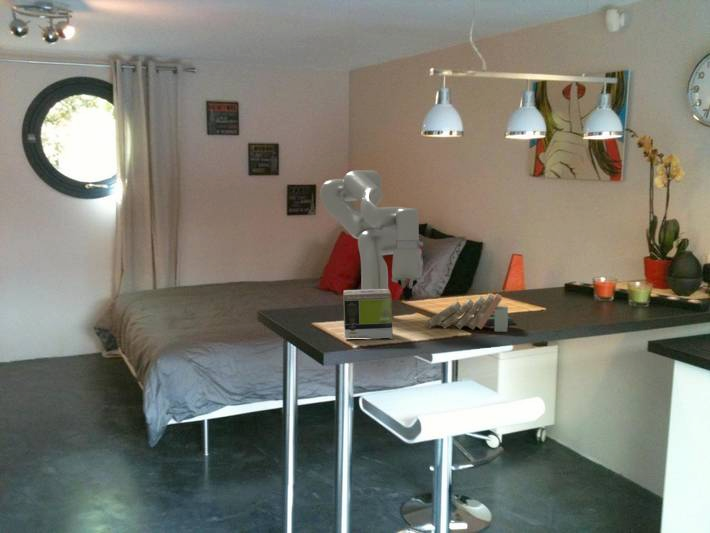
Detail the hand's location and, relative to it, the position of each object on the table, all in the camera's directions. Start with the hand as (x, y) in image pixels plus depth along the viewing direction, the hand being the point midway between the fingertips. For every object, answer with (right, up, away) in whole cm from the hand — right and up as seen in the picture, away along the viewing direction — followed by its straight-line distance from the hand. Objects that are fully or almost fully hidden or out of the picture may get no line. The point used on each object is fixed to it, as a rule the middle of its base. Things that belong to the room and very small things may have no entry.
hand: (407, 299), depth 242 cm
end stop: (+30, -10, -6) cm, 32 cm away
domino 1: (+7, -8, 0) cm, 11 cm away
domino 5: (+23, -9, -4) cm, 25 cm away
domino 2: (+12, -8, -2) cm, 15 cm away
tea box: (-14, -12, -14) cm, 23 cm away
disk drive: (+30, -8, +8) cm, 32 cm away
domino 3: (+17, -9, -3) cm, 19 cm away
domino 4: (+21, -9, -4) cm, 23 cm away
